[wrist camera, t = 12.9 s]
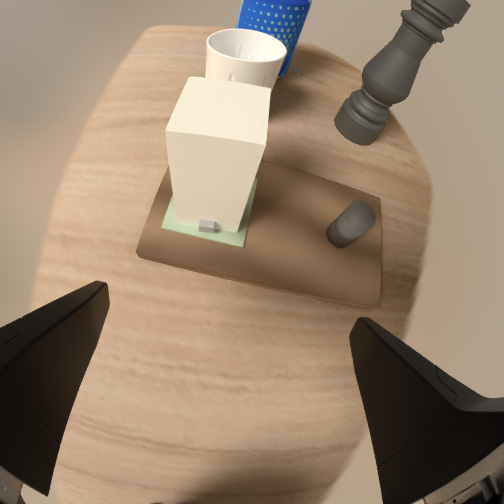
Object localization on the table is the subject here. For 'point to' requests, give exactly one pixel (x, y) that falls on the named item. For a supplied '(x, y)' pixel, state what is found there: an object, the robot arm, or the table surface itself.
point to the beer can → (275, 21)
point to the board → (281, 238)
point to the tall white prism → (216, 150)
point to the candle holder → (396, 68)
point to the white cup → (244, 57)
